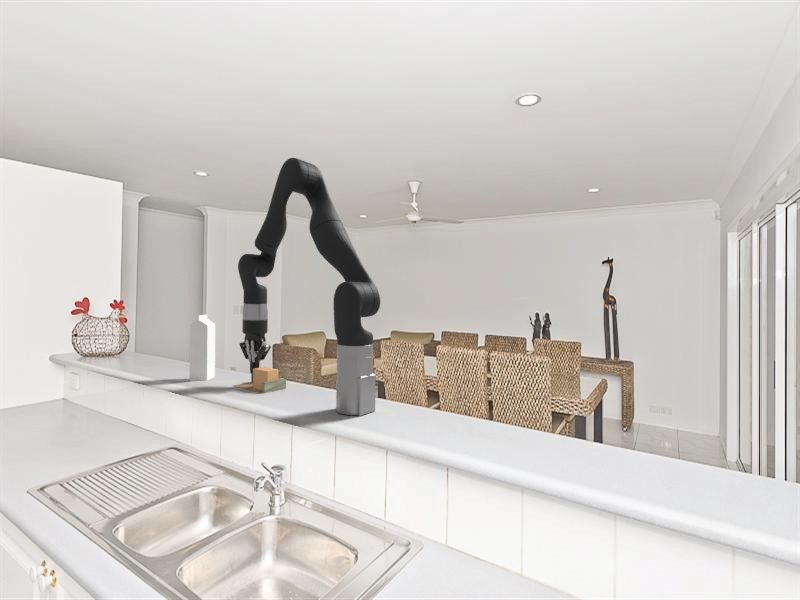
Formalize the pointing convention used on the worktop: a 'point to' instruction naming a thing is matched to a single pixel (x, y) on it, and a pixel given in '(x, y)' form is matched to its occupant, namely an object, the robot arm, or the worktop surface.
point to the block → (263, 376)
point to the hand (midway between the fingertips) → (254, 373)
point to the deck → (265, 385)
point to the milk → (202, 349)
